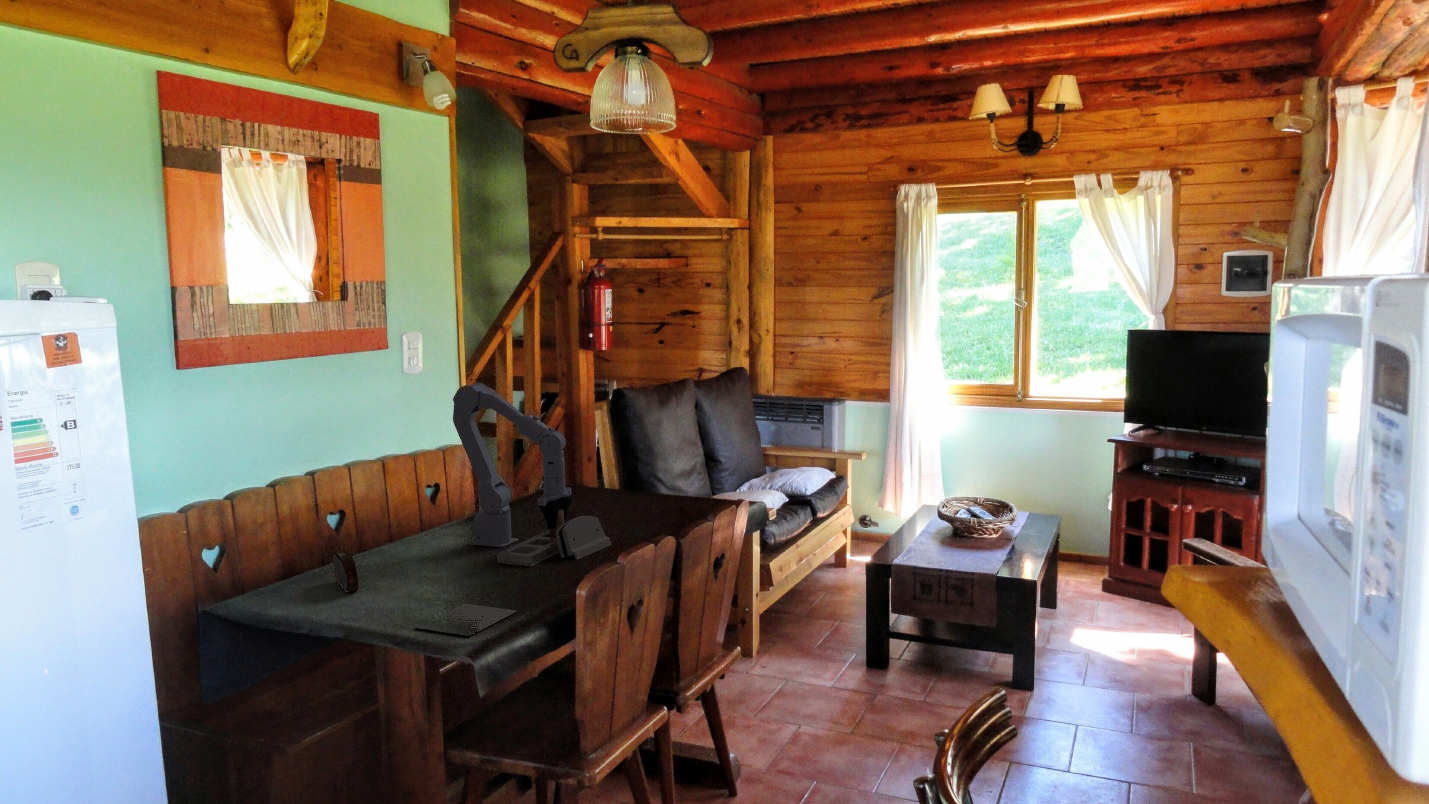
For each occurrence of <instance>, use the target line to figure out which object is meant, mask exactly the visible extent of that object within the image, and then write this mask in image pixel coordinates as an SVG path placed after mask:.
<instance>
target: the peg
mask: <svg viewBox="0 0 1429 804" xmlns="http://www.w3.org/2000/svg"><path fill="white" fill-rule="evenodd" d="M563 524H564V509H562V508H559V509H558V514H557V526H556V529H548V530H549V533H550V537H553V538H556V531H557V530H558V529H559V528H560V527H561V526H562V525H563Z"/></svg>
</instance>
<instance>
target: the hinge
mask: <svg viewBox="0 0 1429 804" xmlns="http://www.w3.org/2000/svg"><path fill="white" fill-rule="evenodd" d="M556 538H557V543H558V547H559V551H560V552H559V554H560V558H561V559H563V558H564V559H565V558H566V557H570V556H574V559H575V560H576V561H577V560H580V559H582V558H585V557H587V556H589V555H591V554H593V553H596V552H599V551H600V550H601V551H602V549H605V548H607V547H610V546H612V541H611V538H610V537H609V536H607V535H606V534H605V532H604V529H603V527H602V524H601V521H600V519H599V517H597V516H594V515H581V516H577V517H574V518H571V519H569V520H568V521H565V523H564V524H563V525H562V526H561V527H560V528H559V529H558V530H557V531H556Z"/></svg>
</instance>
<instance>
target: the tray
mask: <svg viewBox="0 0 1429 804" xmlns="http://www.w3.org/2000/svg"><path fill="white" fill-rule="evenodd" d="M558 554H560V551H559V547H558V543H557V538H553V537H550V533H549V529H548V530H546V531H543V532H541V533H539V534H536V535H534V536H532V537H530V538H528V539H526V540H524V541H521V542H519V543H516V544H515V545H512V546H511V547H508V548H506V549H504V550H501V551H500V552H497V553H496V561H497V562H496V563H497V564H501V565H512V566H522V565H524V567H533V566H535V565H537V564H540V563H542V562H544V561H545V560H547V559H549V558H552V557H553V556H555V555H558Z"/></svg>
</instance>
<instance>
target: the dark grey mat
mask: <svg viewBox="0 0 1429 804" xmlns="http://www.w3.org/2000/svg"><path fill="white" fill-rule="evenodd" d="M450 610H451V611H450ZM450 610H448V611H446V612H445V613H449V614H447V615H455V616H456V615H457V616H465V617H459V618H460V619H461V618H462V619H467V620H468V619H469V620H470V619H471V620H478V621H467V622H477V625H476V623H475V625H474V623H473V625H474V626H479V627H471V628H478V629H480V630H477V633H479V632H481V631H482V630H485V629H486V628H487V627H488V628H489V626H492V625H494V624H495V623H498V622H500V621H501V620H502V619H505V618H507V617H509V616H511V615H513V614H515V613H517V612H518V610H516V609H508V608H507V609H506V608H499V607H493V606H492V607H491V606H485V605H478V604H470V603H463V604H461V605H458V606H457V607H455V608H452V609H450ZM452 610H453V611H452ZM452 612H454V613H455V612H456V613H462V614H453V613H452ZM463 613H464V614H463ZM445 615H446V614H445ZM466 616H467V617H466ZM482 616H483V617H482ZM445 618H446V617H445ZM448 618H449V617H448ZM450 618H457V617H450ZM459 618H458V619H459ZM479 620H480V621H479ZM481 620H482V621H481ZM462 622H463V621H462ZM464 622H465V621H464ZM479 622H480V623H479ZM473 625H472V626H473ZM470 626H471V625H470ZM478 631H479V632H478ZM470 634H471V633H470ZM472 634H473V635H474V634H476V633H472Z"/></svg>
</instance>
